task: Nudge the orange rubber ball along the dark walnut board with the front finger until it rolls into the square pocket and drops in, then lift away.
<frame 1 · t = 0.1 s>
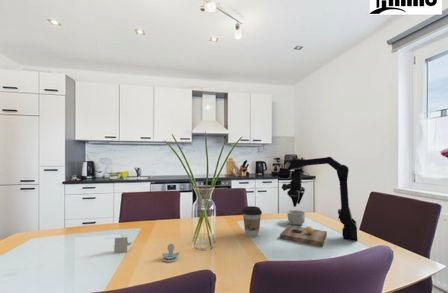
hand: (296, 205, 136), 15 cm above the table, fingers open, 9 cm apart
ball: (309, 230, 122), point 4 cm above the table, touching pocket board
coffee cup: (251, 235, 127), on the table
pacifier: (170, 260, 97), on the table
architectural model: (121, 253, 104), on the table
pocket board: (303, 237, 123), on the table
teacup: (295, 223, 148), on the table
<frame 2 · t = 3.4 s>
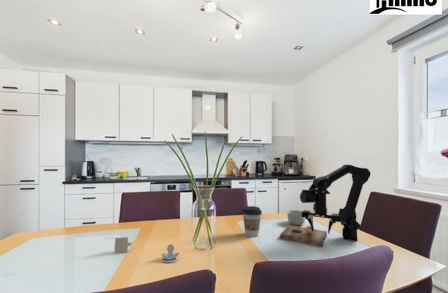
hand: (320, 232, 119), 4 cm above the table, fingers open, 7 cm apart
ball: (308, 229, 122), point 4 cm above the table, tilted 10°, touching gripper, pocket board
everything else where it was.
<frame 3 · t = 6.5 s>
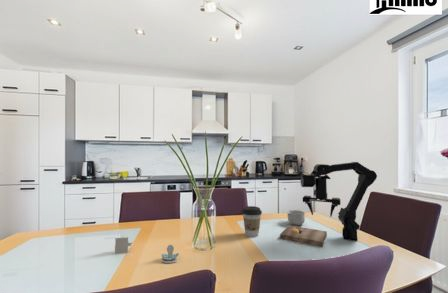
hand: (321, 215, 123), 12 cm above the table, fingers open, 9 cm apart
ball: (295, 232, 125), point 2 cm above the table, tilted 109°
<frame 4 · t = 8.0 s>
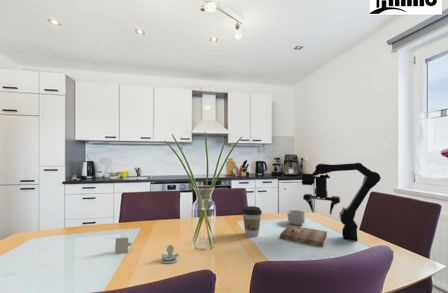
hand: (321, 213, 127), 12 cm above the table, fingers open, 9 cm apart
ball: (297, 232, 125), point 2 cm above the table, tilted 139°
at the end: ball 0.6 cm from the target spot on the pocket board, point 2.0 cm above the pocket board's base; the gripper is holding nothing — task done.
